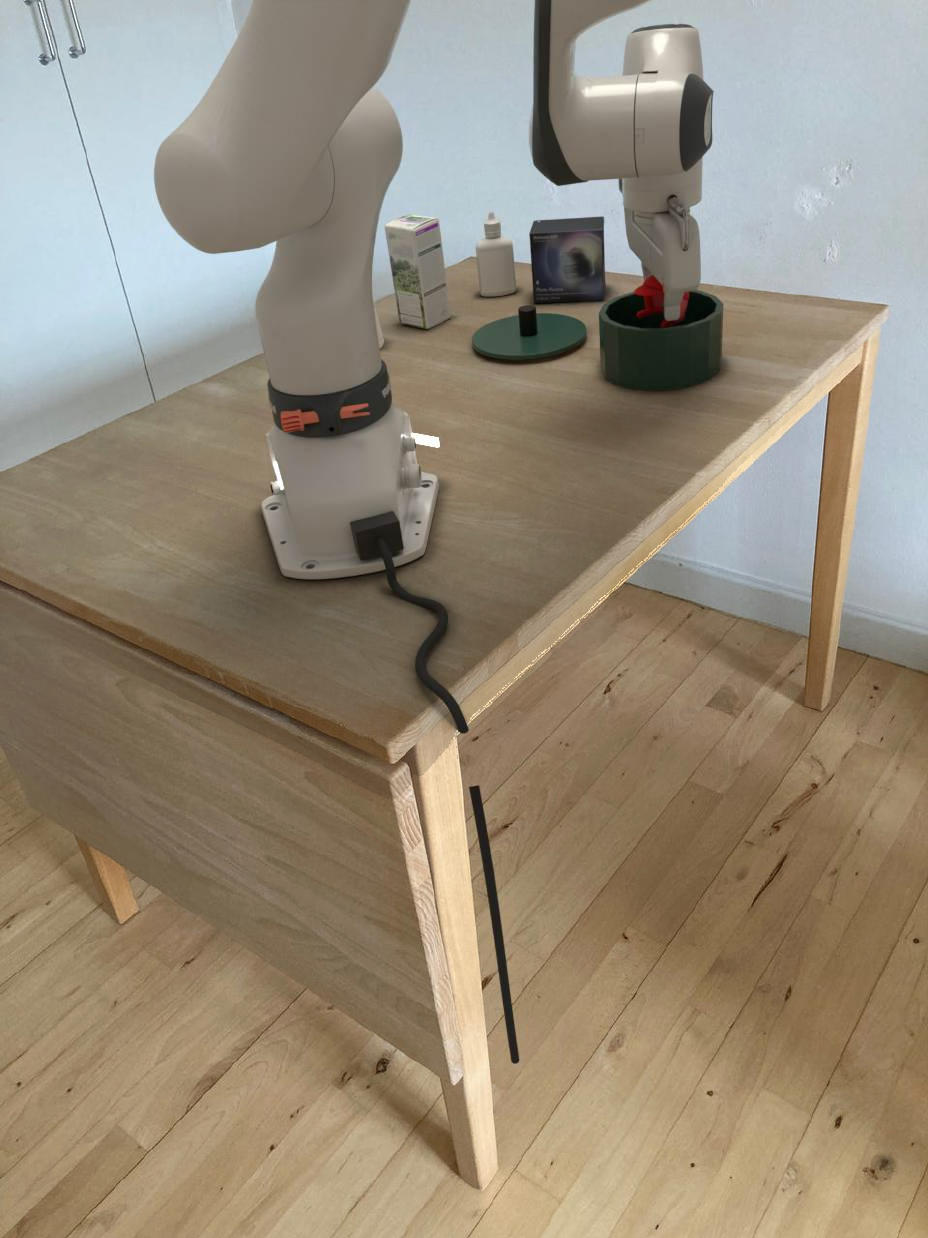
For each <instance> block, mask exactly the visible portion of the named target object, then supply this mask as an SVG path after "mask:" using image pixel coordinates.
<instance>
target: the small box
mask: <svg viewBox="0 0 928 1238" xmlns="http://www.w3.org/2000/svg"><path fill="white" fill-rule="evenodd" d="M528 235H529V246H530V247H529V249H530V260H531V261H530V263H531V264H530V265H531V279H532V281H531V282H532V295H533V303H534V304H545V303H546V304H547V303H567V302H568V303H570V302H573V303H574V302H594V301H595V302H597V301H604V300H605V294H606V291H607V290H606V289H607V283H606V282H607V281H606V261H605V260H606V258H605V216H587V217H585V216H584V217H572V218H569V217H568V218H554V219H553V218H552V219H538V220H537V219H536V220H533V221H532V224H531V227H530V230H529V233H528Z"/></svg>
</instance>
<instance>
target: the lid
mask: <svg viewBox="0 0 928 1238" xmlns="http://www.w3.org/2000/svg"><path fill="white" fill-rule="evenodd" d="M517 313H518V314H517V315H511V316H506V317H503V318H499V319H496V320H493V321H492V322H489V323H485V324H484V325H483V326H481V327H480V328H478V329H477V330H476V331H475V332H474V333H473V335H472V337H471V344H472V347H473V349H474V351H476V352H478V353H479V354H481V355H483V356H485V357H486V356H487V357H490V358H494V359H498V360H511V361H512V360H513V361H514V360H515V361H516V360H517V361H519V360H520V361H521V360H523V361H524V360H534V359H541V358H542V359H543V358H546V357H551V356H556V355H559V354H562V353H565V352H567V351H570V350H572V349H574V348H576V347H578V346H579V345H580V344H581V343H583V342H584V340H585V339H586V337H587V335H588V333H587V332H588V330H587V326H586V324H585V323H584V322H583V321H582V320H580V319H578V318H577V317H574V316H571V315H567V314H561V313H552V312H550V313H549V312H537V307H536V305H533V304H527V305H522V306H519V307H518V309H517Z"/></svg>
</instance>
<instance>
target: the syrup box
mask: <svg viewBox="0 0 928 1238" xmlns="http://www.w3.org/2000/svg"><path fill="white" fill-rule="evenodd" d="M440 225H441V224H440V219H439V217H436V216H427V215H418V214H406V215H403V216H400V217H397V218H395V219H393V220H391V221H389V222H388V223H387V224H384V232H385V237H386V239H385V240H386V244H387V251H388V257H389V264H390V270H391V271H390V272H391V277H392V285H393V290H394V296H395V302H396V309H397V316H398V321H399V324H400V325H403V326H409V327H415V328H419V329H424V330H429V329H431V328H433V327H434V328H435V327H436V326H438V325H439V324H442V323H443V322H445V321H447V320H450V319H451V318H452V312H451V305H450V297H449V291H448V282H447V273H446V267H445V265H446V264H445V259H444V258H445V257H444V250H443V242H442V241H443V240H442V233H441V227H440Z"/></svg>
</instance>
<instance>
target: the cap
mask: <svg viewBox="0 0 928 1238" xmlns="http://www.w3.org/2000/svg"><path fill="white" fill-rule="evenodd" d="M633 292H634V293H635V294H636V295H641V296H644V301H645V307H646V309H645V310H642V311H639V312H638V313H637V318H639V319H640V318H643V317H647V316H650V315H654V314H662V303H664V294H665V292H664V291H663V286H662V285H661V284H660V282H659V281H658V280H657V279H656V278H655V277H654V275H651V276H650V277H648V278H647V279H646V280H645V281H644V280H643V283H642V284H641V285H640V286H638V287H636V288H635V289H634V291H633ZM688 300H689V292H684V295H683V298H682V302H681V305H680V317H679V319H677V320H672V321H667V320H666V319H665V320H664V322H662V323H661V328H667V327H669V326H672V325H674V324H677V323H679V322H681V321H682V320H683V319H684V317H685V311H686V307H687V303H688Z"/></svg>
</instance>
